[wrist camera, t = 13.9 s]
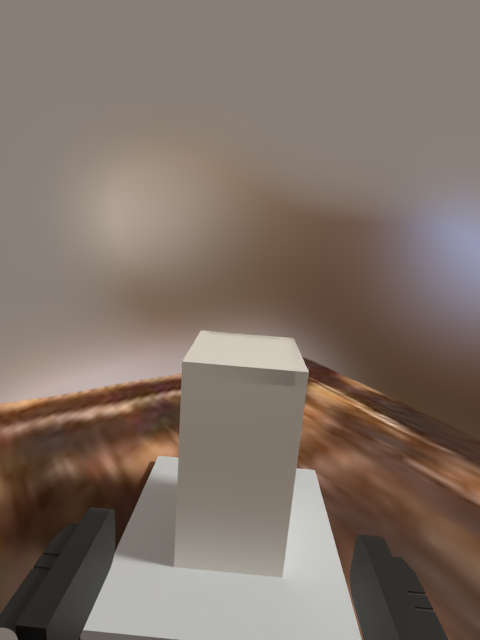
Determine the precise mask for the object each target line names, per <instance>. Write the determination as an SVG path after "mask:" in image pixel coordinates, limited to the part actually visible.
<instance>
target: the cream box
mask: <svg viewBox="0 0 480 640" xmlns="http://www.w3.org/2000/svg"><path fill="white" fill-rule="evenodd" d="M308 374H309V372H308V369H307V367H306V365H305V363H304V360H303V358H302V356H301V354H300V352H299V349H298V347H297V345H296V343H295V341H294V338H285V337H273V336H259V335H249V334H237V333H225V332H212V331H201V332H200V333H199V335H198V337H197V338H196V340H195V342H194V343H193V345H192V347H191V348H190V350H189V352H188V353H187V355H186V356H185V358H184V360H183V362H182V383H181V408H180V432H179V456H178V480H177V504H176V528H175V552H174V567H177V568H188V569H198V570H208V571H219V572H229V573H239V574H249V575H260V576H270V577H280V578H282V577H283V569H284V561H285V554H286V546H287V538H288V530H289V522H290V515H291V507H292V499H293V491H294V483H295V476H296V468H297V460H298V452H299V445H300V437H301V429H302V421H303V413H304V406H305V398H306V390H307V382H308Z"/></svg>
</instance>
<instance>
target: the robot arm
mask: <svg viewBox="0 0 480 640" xmlns="http://www.w3.org/2000/svg"><path fill="white" fill-rule="evenodd" d="M114 553H115V511H114V509H104V508H94V507H91V508H90V509H89V510H88V511H87V513H86V514H85V516H84V517H83V519H82V520H81V522H80V524H79V525H77V524H69V525H68V526H66V527H65V528H64V529H63V530H62V531H60V532H59V533H58V534H57V535H56V536H54V538H53V539H52V540H51V542H50V543H49V545H48V546H47V548H46V549H45V551H44V552H43V555H42V556H40V558H39V559H38V561H37V562H36V564H35V565H34V568H33V570H31V571H30V572H29V574H28V575H27V577H26V578H25V580H24V581H23V582H22V584H21V585H20V587H19V588H18V590H17V591H16V593H15V594H14V595H13V597H12V598H11V600H10V601H9V603H8V604H7V606H6V607H5V608H4V610H3V611H2V613H1V614H0V640H79V638H80V636H81V633H82V631H83V629H84V627H85V624H86V622H87V620H88V618H89V615H90V613H91V611H92V609H93V606H94V604H95V602H96V600H97V598H98V595H99V593H100V591H101V589H102V586H103V584H104V582H105V580H106V577H107V575H108V573H109V571H110V568H111V565H112V562H113V558H114ZM350 588H351V594H352V598H353V601H354V605H355V609H356V612H357V616H358V619H359V623H360V626H361V630H362V634H363V637H364V640H448V638H447V636H446V634H445V632H444V630H443V628H442V626H441V624H440V622H439V620H438V618H437V616H436V614H435V613H434V612H433V608H432V606H431V604H430V602H429V600H428V598H427V596H425V592H424V590H423V588H422V586H421V584H420V582H419V580H418V577H417V575H416V574H415V573H414V571H413V570H412V569H411V568H410V567H409V566H408V565H407V564H406V562H405V561H404V560H403V559H402V558H399V557H392V555H391V553H390V551H389V548H388V546H387V544H386V542H385V540H384V538H383V537H380V536H370V535H360V534H358V535H357V537H356V542H355V547H354V553H353V558H352V564H351V570H350Z"/></svg>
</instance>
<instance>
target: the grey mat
mask: <svg viewBox="0 0 480 640" xmlns="http://www.w3.org/2000/svg"><path fill="white" fill-rule="evenodd" d="M177 480H178V458H177V457H166V456H158V458H157V460H156V462H155V465H154V467H153V469H152V471H151V473H150V476H149V478H148V480H147V482H146V485H145V487H144V489H143V491H142V493H141V496H140V498H139V500H138V502H137V505H136V507H135V509H134V511H133V513H132V516H131V518H130V520H129V522H128V525H127V527H126V529H125V531H124V533H123V536H122V538H121V540H120V542H119V544H118V547H117V549H116V551H115V553H114V558H113V562H112V565H111V568H110V571H109V573H108V575H107V577H106V580H105V582H104V584H103V586H102V589H101V591H100V593H99V595H98V598H97V600H96V602H95V604H94V606H93V609H92V611H91V613H90V615H89V618H88V620H87V622H86V624H85V627H84V629H83V631H82V633H81V636H80V640H362V639H361V636H360V632H359V628H358V625H357V621H356V618H355V614H354V610H353V607H352V603H351V600H350V596H349V592H348V589H347V585H346V581H345V578H344V574H343V571H342V567H341V563H340V560H339V556H338V552H337V549H336V545H335V542H334V538H333V534H332V531H331V527H330V524H329V520H328V516H327V513H326V509H325V505H324V502H323V498H322V495H321V491H320V487H319V484H318V480H317V477H316V473H315V470H308V469H297V468H296V476H295V483H294V491H293V499H292V507H291V515H290V522H289V530H288V538H287V546H286V554H285V561H284V569H283V577H282V578H280V577H270V576H260V575H249V574H239V573H229V572H219V571H208V570H198V569H188V568H177V567H174V552H175V528H176V504H177Z"/></svg>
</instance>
